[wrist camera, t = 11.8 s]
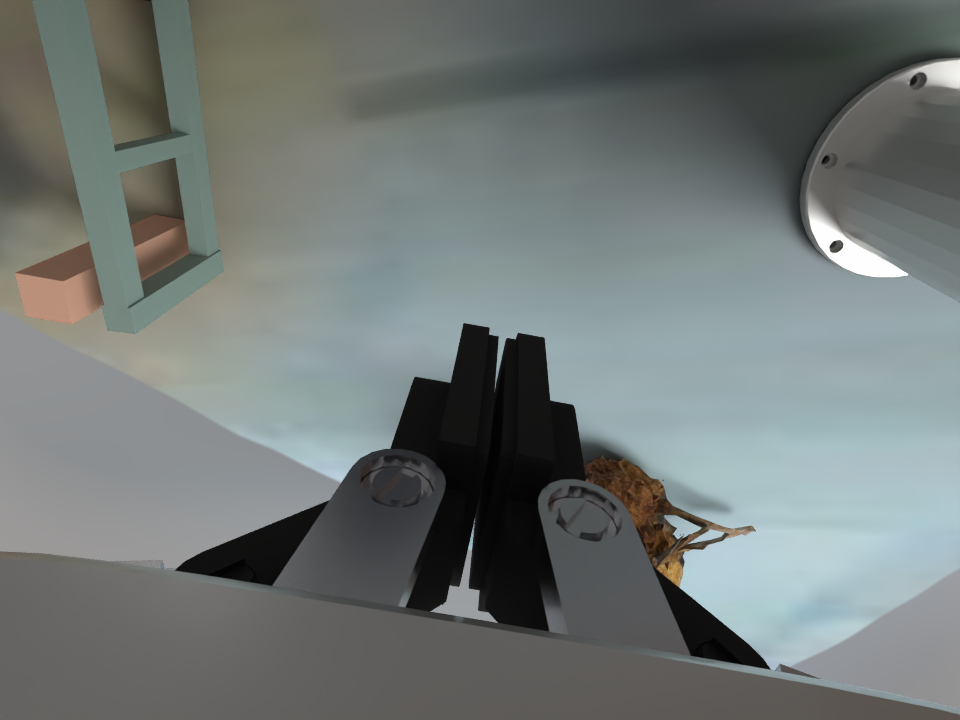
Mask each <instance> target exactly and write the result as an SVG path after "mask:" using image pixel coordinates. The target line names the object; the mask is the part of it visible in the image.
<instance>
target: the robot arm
mask: <svg viewBox="0 0 960 720" xmlns="http://www.w3.org/2000/svg"><path fill="white" fill-rule="evenodd" d="M911 78H912V82H911V83H910V79H911ZM909 83H910V84H909ZM825 156H826V160H825V161H824V162H823V163H822V159H823V158H824V157H825ZM800 210H801V219H802V222H803V225H804V228H805V231H806V234H807V236H808V237H809V239H810V240H811V242H812V244H813V245H814V247H815V248H816V249H817V250H818V251H819V252H820V253H821V254H822V255H823V256H824V257H825V258H827V259H828V260H829V261H831V262H833V263H834V264H836V265H837V266H839V267H840V268H842V269H845V270H847V271H850V272H852V273H854V274H857V275H862V276H868V277H873V278H895V277H901V276H907V275H911V276H912V277H914V278H916V279H918V280H920V281H921V282H923V283H925V284H927V285H929V286H931V287H932V288H934V289H936V290H938V291H940V292H941V293H943V294H945V295H947V296H949V297H951V298H952V299H954V300H956V301H958V302H960V58H938V59H933V60H928V61H924V62H919V63H915V64H912V65H909V66H907V67H904V68H902V69H899V70H897V71H894V72H892V73H890V74H888V75H886V76H885V77H883V78H881V79H880V80H878V81H876V82H875V83H873V84H871V85H870V86H868V87H867V88H866V89H864V90H863V91H862V92H861V93H859V94H858V95H857V96H856V97H854V98H853V99H852V100H851V101H849V102H848V103H847V104H846V105H845V107H844V108H843V109H842V110H841V111H840V112H839V113H838V114H837V115H836V116H835V117H834V118H833V119H832V121H831V122H830V123H829V125H828V126H827V128H826V129H825V131H824V132H823V133H822V135H821V136H820V138H819V139H818V141H817V143H816V145H815V147H814V149H813V151H812V153H811V155H810V157H809V159H808V161H807V165H806V168H805V171H804V175H803V178H802V182H801V191H800ZM832 242H833V243H832ZM831 243H832V244H831ZM830 244H831V245H830ZM829 245H830V246H829ZM498 339H499V336H493V335H489V328H488V327H482V326H477V325H471V324H466V323H464V324H463V329H462V333H461V338H460V343H459V347H458V352H457V357H456V361H455V366H454V371H453V375H452V380H451V383H448V382H442V381H437V380H431V379H425V378H420V377H415V378H414V380H413V383H412V386H411V389H410V392H409V395H408V398H407V401H406V404H405V407H404V410H403V413H402V416H401V419H400V422H399V425H398V428H397V431H396V434H395V437H394V440H393V443H392V446H391V449H383V450H379V451H375V452H371V453H370V454H368V455H366V456H364V457H362V458H360V459H359V460H358V461H357V462H356V463H355V464H354V465H353V466H352V468H351V469H350V471H349V472H348V474H347V475H346V477H345V478H344V480H343V481H342V483H341V484H340V486H339V487H338V489H337V490H336V492H335V493H334V495H333V496H332V498H331V499H330V500H329V501H326V502H324V503H322V504H319V505H317V506H314V507H312V508H310V509H307V510H304V511H302V512H299V513H297V514H295V515H292V516H290V517H287V518H285V519H282V520H280V521H277V522H275V523H272V524H270V525H268V526H265V527H263V528H260V529H258V530H255V531H253V532H250V533H248V534H246V535H243V536H241V537H238V538H236V539H233V540H231V541H228V542H226V543H224V544H221V545H219V546H216V547H214V548H211V549H209V550H206V551H204V552H202V553H200V554H198V555H196V556H194V557H192V558H190V559H189V560H187V561H185V562H184V563H183V564H181V565H180V566H179V567H178V568H167V569H164V565H163V560H147V561H145V560H144V561H103V560H94V559H85V558H77V557H68V556H60V555H52V554H43V553H23V552H0V720H960V709H959V708H956V707H952V706H949V705H945V704H940V703H935V702H931V701H926V700H921V699H917V698H912V697H907V696H903V695H898V694H893V693H889V692H884V691H880V690H875V689H870V688H865V687H860V686H855V685H850V684H845V683H838V682H833V681H828V680H822V679H819V678H816V677H814V676H811V675H809V674H806V673H803V672H800V671H798V670H795V669H793V668H790V667H787V666H785V665H782V664H779V666H778V667H777V668H776V670H771V669H770V668H769V666H768V665H767V663H766V662H765V661H764V659H763V658H762V657H761V656H760V655H759V654H758V653H757V652H756V651H755V650H754V649H753V648H752V647H751V646H750V645H749V644H748V643H746V642H745V641H744V640H743V639H741V638H740V637H739V636H738V635H737V634H735V633H734V632H733V631H732V630H730V629H729V628H728V627H727V626H726V625H724V624H723V623H722V622H721V621H719V620H718V619H717V618H716V617H715V616H713V615H712V614H711V613H710V612H708V611H707V610H706V609H705V608H703V607H702V606H701V605H700V604H699V603H697V602H696V601H695V600H694V599H692V598H691V597H690V596H689V595H688V594H686V593H685V592H684V591H683V590H681V589H680V588H679V587H678V586H677V585H675V584H674V583H673V582H672V581H670V580H669V579H668V578H667V577H666V576H664V575H663V574H662V573H661V572H659V571H658V570H657V569H656V568H655V567H653V566H652V564H651V562H650V560H649V557H648V555H647V553H646V551H645V548H644V546H643V544H642V541H641V539H640V537H639V534H638V532H637V530H636V527H635V525H634V523H633V520H632V518H631V516H630V514H629V512H628V511H627V509H626V507H625V506H624V504H623V503H622V502H621V501H620V500H619V499H618V498H616V497H615V496H614V495H613V494H612V493H610V492H608V491H607V490H605V489H604V488H602V487H600V486H597V485H595V484H592V483H590V482H587V481H586V476H585V470H584V464H583V457H582V451H581V444H580V438H579V432H578V425H577V419H576V413H575V408H574V406H573V405H571V404H566V403H560V402H554V401H550V394H549V382H548V371H547V360H546V349H545V339H544V338H543V337H538V336H532V335H527V334H521V333H518V334H517V337H516V340H515V339H510V338H507V339H506V342H505V346H504V351H503V355H502V360H501V365H500V369H499V374H498V379H497V383H496V388H495V377H496V364H497V352H498ZM494 390H495V393H494ZM475 515H476V516H475ZM474 519H475V527H474V537H473V547H472V557H471V568H470V578H469V589H475V590H480V594H479V606H478V610H479V611H484V612H489V613H490V614H491V615H492V616H493V617H494V619H495V620H496V621H497V622H498V623H494V622H489V621H483V620H477V619H471V618H464V617H459V616H453V615H447V614H441V613H435V612H430V611H432V610H433V609H435V608H436V607H438V606H440V605H441V604H442V605H443V604H444V602H446V599H447V595H448V590H449V585H451V586H458V587H459V586H460V582H461V577H462V573H463V568H464V564H465V559H466V555H467V551H468V546H469V542H470V537H471V533H472V528H473V524H474Z"/></svg>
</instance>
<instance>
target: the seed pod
mask: <svg viewBox="0 0 960 720" xmlns="http://www.w3.org/2000/svg"><path fill="white" fill-rule="evenodd" d="M584 470H585V476H586V481H587V482H590V483H592V484H595V485H597V486H600V487H602V488H604V489H605V490H607V491H608V492H610V493H612V494H613V495H614V496H615V497H616V498H618V499H619V500H620V501H621V502H622V503H623V504H624V506H625V507H626V509H627V511H628V512H629V514H630V516H631V518H632V520H633V523H634V525H635V527H636V530H637V532H638V534H639V537H640V539H641V541H642V544H643V546H644V548H645V551H646V553H647V555H648V557H649V560H650V562H651V564H652V566H653V567H655V568H656V569H657V570H658V571H659V572H661V573H662V574H663V575H664V576H666V577H667V578H668V579H669V580H670V581H672V582H673V583H674V584H675V585H677V586H678V587H679V586H680V582H681V579H682V575H683V566H684V562H685V561H684V559H683V557H682V556H683V554H684V551H689V550H692V549H701V550H703V549H704V548H705V547H706V546H708V545H709V544H713V543H716V542H720V541H723V540H724V539H726V538H730V537H735V536H737V535H740V534H743V535H746V534H748V533H750V532H751V531H755V529H754V528H753V526H747V527H741V528H735V529H731V528H726V527H722V526H720V525H717V524H715V523H712V522H709V521H707V520H704V519H702V518H699V517H697V516H694V515H691V514H689V513H687V512H685V511H683V510H680V509H678V508H676V507H674V506H672V505H671V503H670V502H669V501H668V500H667V498H666V494H665V490H664V486H663V485H662V484H661V482H660V481H659V480H658V479H652V478H650V477H649V476H648V475H647V474H646V473H644V472H643V471H642V470H641V469H640V468H639V467H638V466H635V465H633V464H631V463H630V462H628V461H627V460H625V459H624V458H623V459H622V461H615V460H613V459H609V460H608V461H607V460H606V459H605V458H604V456H603V455H602V456H601V458H600V460H597V459H594V460H592V461H591V462H590V463H588V464H585V465H584ZM663 481H664V480H663ZM664 515H677V516H679V517H681V518H683V519H685V520H687V521H689V522H691V523H693V524H695V525H697V526H699V527H702V528H701V529H700V530H699V531H698V532H695V533H693V534H689V535H688V536H687V537H684V538H682V537H683V536H684V534H683V536H682V537H681V538H679V539H677V538H676V537H675V536H674V535H672V534H673V533H674V532H675V530H676V529H677V528H676V527H674V526H672V525H671V524H670V523H669V522H668V521H667V520H666V519H665V518H664ZM710 529H712V530H717V531H721V532H725V533H724V534H723V535H722V537H719V538H716V539H712V540H707V541H702V542H697V543H692V544H688V543H689V542H691V541H692V540H694V539H695V538H697V537H698V536H700V535H702V534H704V533H706V532H707V531H709V530H710ZM686 544H687V545H686Z"/></svg>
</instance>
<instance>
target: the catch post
mask: <svg viewBox="0 0 960 720" xmlns="http://www.w3.org/2000/svg"><path fill="white" fill-rule="evenodd" d="M130 228H131V233H132V238H133V243H134V248H135V253H136V258H137V263H138V268H139V273H140V279H141V281H143V280H145V279H146V278H148V277H150V276H151V275H153V274H155V273H157V272H158V271H160V270H162V269H163V268H165V267H167V266H169V265H170V264H172V263H174V262H175V261H177V260H179V259H181V258H182V257H184V256H186V255H187V254H189V246H188V240H187V233H186V226H185V220H182V219H176V218H171V217H166V216H160V215H155V214H154V215H152V216H149V217H147V218H145V219H142V220H140V221H138V222H135V223H133V224H130ZM15 274H16V278H17V282H18V286H19V290H20V294H21V298H22V302H23V306H24V310H25V314H26V316H28V317H34V318H40V319H45V320H51V321H57V322H62V323H68V324H74V323H75V322H77V321H79V320H80V319H82V318H84V317H85V316H87V315H89V314H90V313H92V312H94V311H96V310H97V309H99V308H101V307H102V304H103V303H104V302H103V298H102V294H101V289H100V285H99V281H98V277H97V273H96V268H95V264H94V260H93V256H92V252H91V247H90V243H89V242H88V243H85V244H83V245H80V246H78V247H76V248H73V249H71V250H69V251H66V252H64V253H61V254H59V255H57V256H54V257H52V258H50V259H47V260H45V261H42V262H40V263H38V264H35V265H33V266H30V267H28V268H26V269H23V270H21V271H19V272H16V273H15Z"/></svg>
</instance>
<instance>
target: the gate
mask: <svg viewBox="0 0 960 720" xmlns="http://www.w3.org/2000/svg"><path fill="white" fill-rule="evenodd" d="M32 3H33V8H34V12H35V16H36V20H37V24H38V29H39V33H40V37H41V41H42V46H43V50H44V54H45V58H46V62H47V67H48V71H49V75H50V79H51V83H52V88H53V92H54V96H55V100H56V104H57V109H58V113H59V117H60V121H61V125H62V130H63V134H64V138H65V142H66V146H67V151H68V155H69V159H70V163H71V167H72V172H73V176H74V180H75V184H76V189H77V193H78V197H79V201H80V205H81V210H82V214H83V218H84V222H85V226H86V231H87V235H88V239H89V243H90V247H91V252H92V256H93V260H94V264H95V268H96V273H97V277H98V281H99V285H100V289H101V294H102V298H103V302H104V303H103V304H102V309H103V314H104V318H105V322H106V326H107V330H108V331H115V332H123V333H131V334H136V333H138V332H139V331H140V330H142V329H143V328H145V327H146V326H147V325H149V324H150V323H152V322H153V321H154V320H156V319H157V318H159V317H160V316H161V315H163V314H164V313H166V312H167V311H168V310H170V309H171V308H173V307H174V306H176V305H177V304H178V303H180V302H181V301H183V300H184V299H185V298H187V297H188V296H190V295H191V294H192V293H194V292H195V291H197V290H198V289H199V288H201V287H202V286H204V285H205V284H206V283H208V282H209V281H211V280H212V279H214V278H215V277H216V276H218V275H219V274H221V273H222V272H223V263H222V255H221V250H219V248H218V239H217V231H216V223H215V215H214V207H213V199H212V191H211V183H210V175H209V166H208V158H207V150H206V142H205V134H204V126H203V118H202V110H201V102H200V93H199V85H198V77H197V69H196V61H195V53H194V45H193V37H192V28H191V20H190V12H189V4H188V0H152V6H153V13H154V20H155V26H156V33H157V40H158V46H159V53H160V60H161V66H162V73H163V80H164V86H165V93H166V100H167V106H168V113H169V120H170V126H171V133H170V134H165V135H160V136H155V137H151V138H146V139H141V140H136V141H131V142H126V143H122V144H117V145H114V143H113V137H112V132H111V127H110V122H109V117H108V112H107V107H106V102H105V97H104V92H103V87H102V82H101V77H100V72H99V67H98V62H97V57H96V52H95V47H94V42H93V37H92V32H91V27H90V22H89V17H88V12H87V7H86V1H85V0H32ZM172 158H175V160H176V166H177V173H178V180H179V186H180V193H181V200H182V206H183V213H184V220H185V226H186V233H187V240H188V246H189V254H187V255H186V256H184V257H182V258H181V259H179V260H177V261H175V262H174V263H172V264H170V265H169V266H167V267H165V268H163V269H162V270H160V271H158V272H157V273H155V274H153V275H151V276H150V277H148V278H146V279H145V280H143V281H141V279H140V273H139V268H138V263H137V258H136V253H135V248H134V243H133V238H132V233H131V228H130V223H129V218H128V213H127V208H126V203H125V198H124V193H123V188H122V183H121V178H120V173H122V172H125V171H129V170H132V169H136V168H139V167H143V166H147V165H150V164H154V163H157V162H161V161H164V160H168V159H172Z"/></svg>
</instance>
